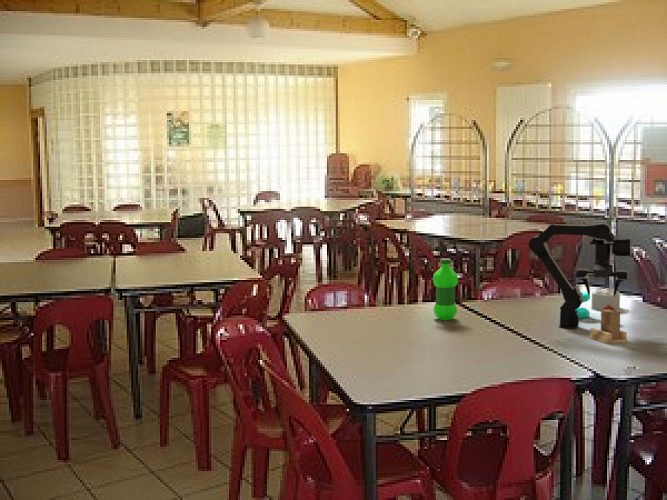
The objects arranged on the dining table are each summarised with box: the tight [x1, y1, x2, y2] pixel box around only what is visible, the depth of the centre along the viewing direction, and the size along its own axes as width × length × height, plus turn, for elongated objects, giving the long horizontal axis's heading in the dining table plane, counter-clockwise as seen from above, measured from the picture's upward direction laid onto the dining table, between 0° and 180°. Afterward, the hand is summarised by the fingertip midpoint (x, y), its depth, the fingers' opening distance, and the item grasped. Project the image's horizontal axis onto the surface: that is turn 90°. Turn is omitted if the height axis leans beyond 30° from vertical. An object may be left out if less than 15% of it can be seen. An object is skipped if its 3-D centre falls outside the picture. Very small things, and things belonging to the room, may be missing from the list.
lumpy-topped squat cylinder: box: [590, 287, 621, 312], centre depth 347 cm, size 10×13×9 cm
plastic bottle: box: [432, 257, 459, 321], centre depth 327 cm, size 10×10×25 cm
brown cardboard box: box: [600, 309, 621, 340], centre depth 289 cm, size 6×4×10 cm, turn 20°
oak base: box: [588, 327, 629, 345], centre depth 291 cm, size 10×9×4 cm
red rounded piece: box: [602, 304, 615, 311], centre depth 318 cm, size 6×6×8 cm
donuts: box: [575, 291, 591, 319], centre depth 331 cm, size 10×10×10 cm
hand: (601, 296), depth 306 cm, fingers open, 9 cm apart
